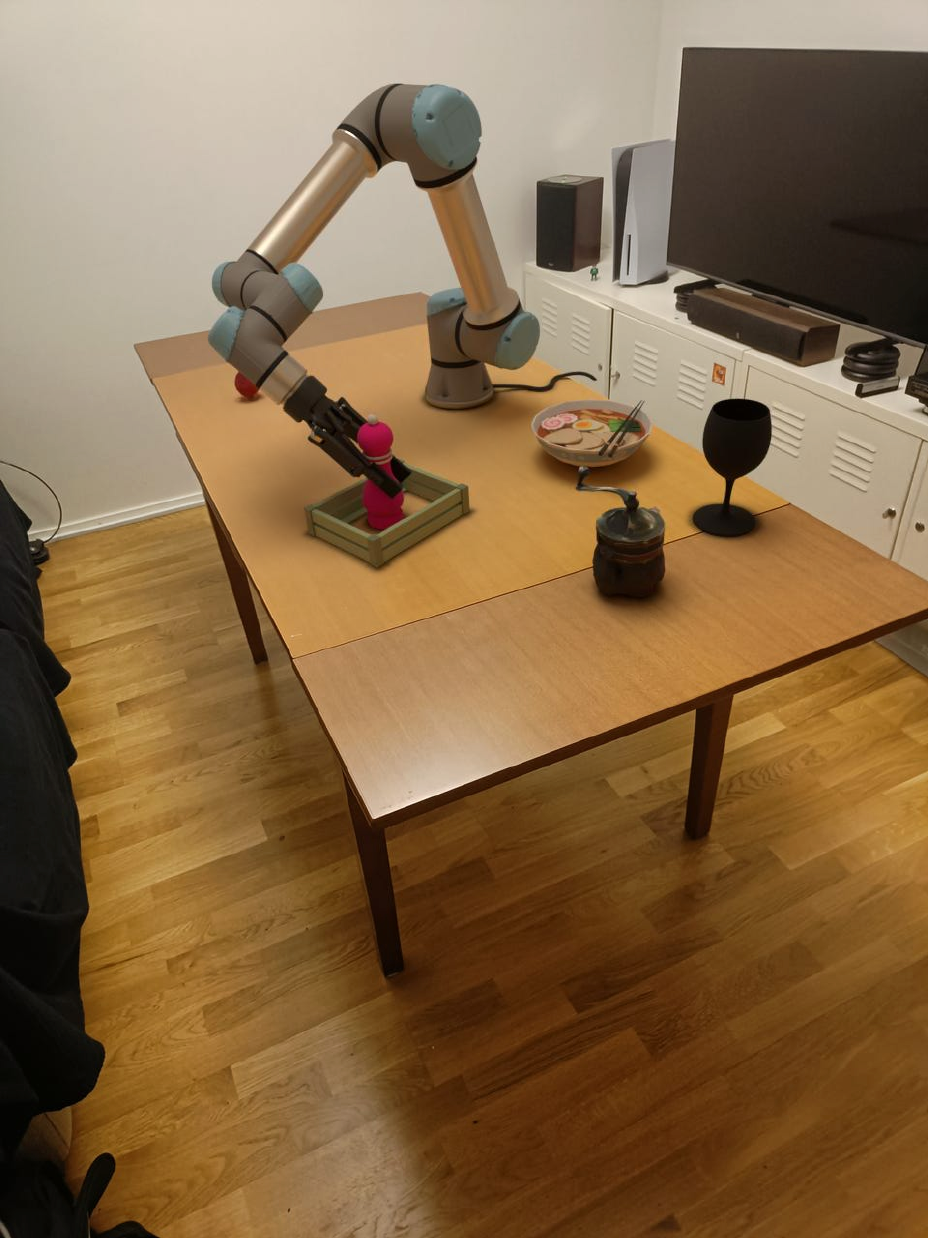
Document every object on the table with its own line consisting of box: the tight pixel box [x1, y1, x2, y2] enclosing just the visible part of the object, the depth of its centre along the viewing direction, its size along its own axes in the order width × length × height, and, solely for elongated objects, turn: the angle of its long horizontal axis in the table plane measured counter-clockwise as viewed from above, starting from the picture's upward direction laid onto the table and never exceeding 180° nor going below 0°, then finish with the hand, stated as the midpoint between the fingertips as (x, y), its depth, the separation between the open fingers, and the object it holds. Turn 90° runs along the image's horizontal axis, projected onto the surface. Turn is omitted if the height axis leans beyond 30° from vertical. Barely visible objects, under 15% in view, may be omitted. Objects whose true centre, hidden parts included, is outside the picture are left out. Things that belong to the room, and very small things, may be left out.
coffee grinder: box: [574, 466, 666, 599], centre depth 125 cm, size 13×15×18 cm
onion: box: [233, 371, 260, 400], centre depth 195 cm, size 6×6×8 cm
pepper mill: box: [357, 413, 405, 530], centre depth 143 cm, size 7×7×20 cm
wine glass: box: [692, 398, 773, 538], centre depth 137 cm, size 10×10×20 cm
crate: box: [303, 458, 471, 569], centre depth 147 cm, size 23×18×5 cm
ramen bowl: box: [530, 398, 653, 468], centre depth 161 cm, size 25×23×8 cm
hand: (402, 485), depth 144 cm, fingers closed on pepper mill, 5 cm apart
